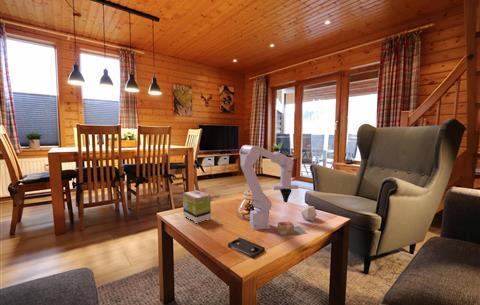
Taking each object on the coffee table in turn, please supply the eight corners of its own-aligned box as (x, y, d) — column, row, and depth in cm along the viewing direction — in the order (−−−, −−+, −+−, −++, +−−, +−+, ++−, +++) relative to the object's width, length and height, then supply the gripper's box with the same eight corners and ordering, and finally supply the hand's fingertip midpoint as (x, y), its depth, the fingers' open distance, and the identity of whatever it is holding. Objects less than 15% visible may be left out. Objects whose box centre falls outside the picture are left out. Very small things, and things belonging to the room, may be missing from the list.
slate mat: (280, 237, 109) (280, 236, 109) (273, 229, 118) (273, 228, 117) (307, 234, 112) (307, 233, 112) (299, 226, 120) (299, 226, 120)
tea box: (182, 216, 136) (182, 192, 135) (197, 212, 143) (196, 189, 142) (196, 224, 125) (195, 197, 124) (211, 219, 132) (211, 194, 130)
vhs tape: (227, 247, 100) (227, 243, 100) (239, 241, 106) (239, 237, 106) (253, 259, 91) (253, 255, 90) (264, 252, 97) (264, 247, 96)
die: (309, 225, 124) (320, 211, 124) (296, 214, 129) (306, 200, 128) (311, 225, 132) (321, 211, 131) (298, 215, 136) (308, 202, 136)
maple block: (293, 232, 113) (280, 234, 111) (290, 229, 117) (277, 230, 115) (294, 224, 112) (280, 225, 111) (290, 221, 116) (277, 222, 115)
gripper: (276, 180, 123) (275, 204, 124) (301, 178, 126) (300, 203, 127) (271, 177, 130) (271, 201, 131) (295, 176, 133) (294, 199, 134)
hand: (285, 201), depth 130 cm, fingers closed
